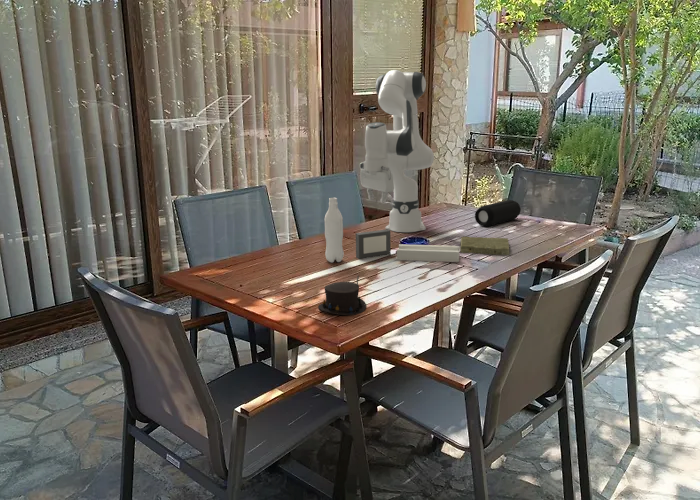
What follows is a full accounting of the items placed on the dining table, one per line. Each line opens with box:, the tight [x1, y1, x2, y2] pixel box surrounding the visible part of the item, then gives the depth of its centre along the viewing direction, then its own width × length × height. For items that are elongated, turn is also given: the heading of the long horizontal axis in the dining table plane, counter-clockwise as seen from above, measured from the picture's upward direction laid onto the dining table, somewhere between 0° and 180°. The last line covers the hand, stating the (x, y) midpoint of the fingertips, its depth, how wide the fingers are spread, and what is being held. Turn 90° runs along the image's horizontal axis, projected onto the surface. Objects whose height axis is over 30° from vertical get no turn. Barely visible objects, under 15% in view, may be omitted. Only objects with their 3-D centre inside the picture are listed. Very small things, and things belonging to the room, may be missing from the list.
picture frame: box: [355, 228, 392, 260], centre depth 250 cm, size 3×14×10 cm, turn 114°
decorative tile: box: [459, 236, 510, 256], centre depth 259 cm, size 19×20×4 cm
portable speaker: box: [474, 199, 521, 227], centre depth 303 cm, size 26×10×10 cm, turn 131°
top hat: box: [318, 275, 367, 316], centre depth 194 cm, size 15×15×10 cm
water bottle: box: [323, 197, 345, 263], centre depth 242 cm, size 7×7×25 cm
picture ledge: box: [396, 243, 460, 263], centre depth 247 cm, size 9×24×4 cm, turn 79°
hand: (377, 200), depth 245 cm, fingers open, 8 cm apart
